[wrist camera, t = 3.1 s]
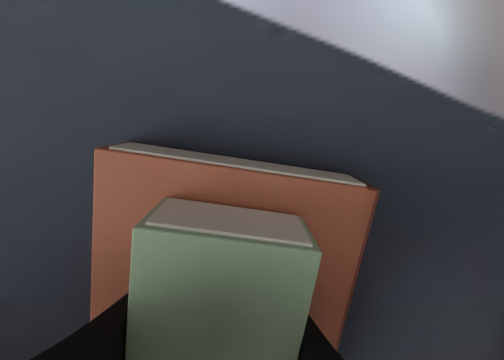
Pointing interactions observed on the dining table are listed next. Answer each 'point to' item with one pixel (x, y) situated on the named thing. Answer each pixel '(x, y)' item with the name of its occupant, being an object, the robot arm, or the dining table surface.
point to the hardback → (231, 194)
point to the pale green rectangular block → (219, 283)
